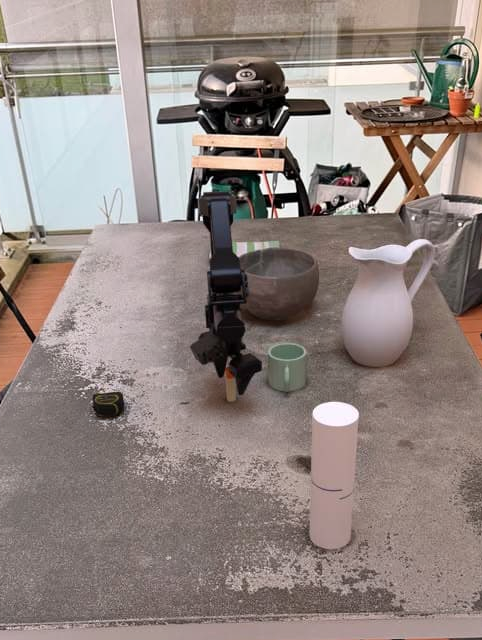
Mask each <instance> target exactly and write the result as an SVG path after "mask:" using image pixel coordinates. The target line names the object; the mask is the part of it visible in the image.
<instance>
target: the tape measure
mask: <svg viewBox="0 0 482 640" xmlns="http://www.w3.org/2000/svg"><path fill="white" fill-rule="evenodd" d="M92 409H93V412H94V413H95V414H96V415H98V416H100V417H113V416H116V415H119V414H121V413H122V412H123V411H124V409H125V400H124V394H123V392H121V391H110V392H102V393H95V394H92Z"/></svg>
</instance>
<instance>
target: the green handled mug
mask: <svg viewBox="0 0 482 640" xmlns="http://www.w3.org/2000/svg"><path fill="white" fill-rule="evenodd" d="M267 378H268V379H267V381H268V386H269V387H270V388H272V389H274V390H276V391H279V392H285V393H288V392H294V391H298V390H300V389H302V388H303V387H305V386H306V383H307V349H306V348H305V347H304V346H302V345H301V344H297V343H292V342H281V343H277V344H274V345H272V346H270V348H269V349H267Z"/></svg>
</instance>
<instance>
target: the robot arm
mask: <svg viewBox="0 0 482 640" xmlns="http://www.w3.org/2000/svg"><path fill="white" fill-rule="evenodd" d="M197 203H198V214H199V216H201V218H202V223H203V226H204V227H205V228H206V230H207V231H208V232H209V244H210V245H209V246H210V247H211V259H210V260H209V270H207V271H206V280H207V281H206V282H207V292H208V293H207V295H206V300H207V301H206V302H207V303H206V304H204V316H205V328H206V329H208V330H207V331H204V332H201V334H200V335H198V337H197V340H196V341H195V342H193V343H192V344H190V345H189V349H190V351H191V353H192V355H193V357H194V359H195V360H196V361H198V362H199V363H200V364H201V365H202V366H206V365H208V364H209V363H210V364H213V366H214V369H215V372H216V374H217V377H218V378H219V379H223V378H224V377H225V368H226V367H227V364H228V367H229V369H230V371H229V373H230V374H232V375H233V376H234V377H235V387H236V391H237V395H238V396H243V395H244V394H245V391H247V388H248V386H249V384H250V383H251V381H252V379H253V377H254V376H255V374H257V373H259V372H262V371H263V361H262V360H261V359H259V358H258V357H257V356H256V355H254V354H253V353H251V352H248V353H245V354H243V353H242V351H244V350H246V349H247V345H246V344H245V343H244V342H243V338H244V336H245V333H246V326H245V322H244V316H243V313H242V312H243V309H242V308H241V304H246V303H247V299H246V297H249V290H248V279H247V274H246V273H245V271H244V269H241V266H240V259H239V257H238V256H237V255H236V254H235V253H234V252H233V247H232V242H233V239H232V228H231V227H232V225H233V223H234V215H235V214H238V210H237V208H238V207H237V196H236V195H232V193H231V192H230V190H219V191H203V192H202V195H201V196H200V197H198V198H197ZM241 287H242V292H243V297H242V296H241V294H237V295H236V294H235V292H239V291H241ZM229 358H230V361H229V362H228V359H229Z"/></svg>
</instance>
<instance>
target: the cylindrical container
mask: <svg viewBox="0 0 482 640" xmlns="http://www.w3.org/2000/svg"><path fill="white" fill-rule="evenodd" d="M311 416H312V417H311V418H312V419H311V420H312V422H311V423H312V424H311V454H310V455H311V456H310V457H311V458H310V460H311V461H310V462H311V463H310V492H309V493H310V494H309V496H310V499H309V532H308V533H309V539H310V541H311V542H312V544H314V545H315V546H317V547H319V548H321V549H324V550H338V549H341V548H344V547H345V546H347V545H348V544H349V542H350V541H351V536H352V524H353V523H352V522H353V506H354V492H355V477H356V465H357V450H358V449H357V448H358V435H359V422H360V421H359V419H360V413H359V410H358V409H357V408H356V407H355V406H353V405H352V404H349V403H346V402H342V401H328V402H322V403H321V404H319V405H317V406H315V408H314V409H313V410H312V415H311Z"/></svg>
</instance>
